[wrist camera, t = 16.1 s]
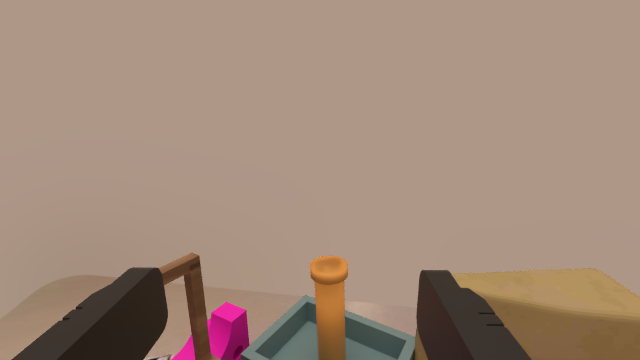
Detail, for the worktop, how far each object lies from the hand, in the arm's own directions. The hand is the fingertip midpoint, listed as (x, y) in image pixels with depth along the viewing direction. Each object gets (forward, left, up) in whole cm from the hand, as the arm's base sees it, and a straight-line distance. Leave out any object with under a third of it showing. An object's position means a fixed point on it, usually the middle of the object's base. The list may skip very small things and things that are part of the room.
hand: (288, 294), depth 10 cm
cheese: (+8, +31, -29) cm, 44 cm away
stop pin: (-11, +22, -28) cm, 37 cm away
